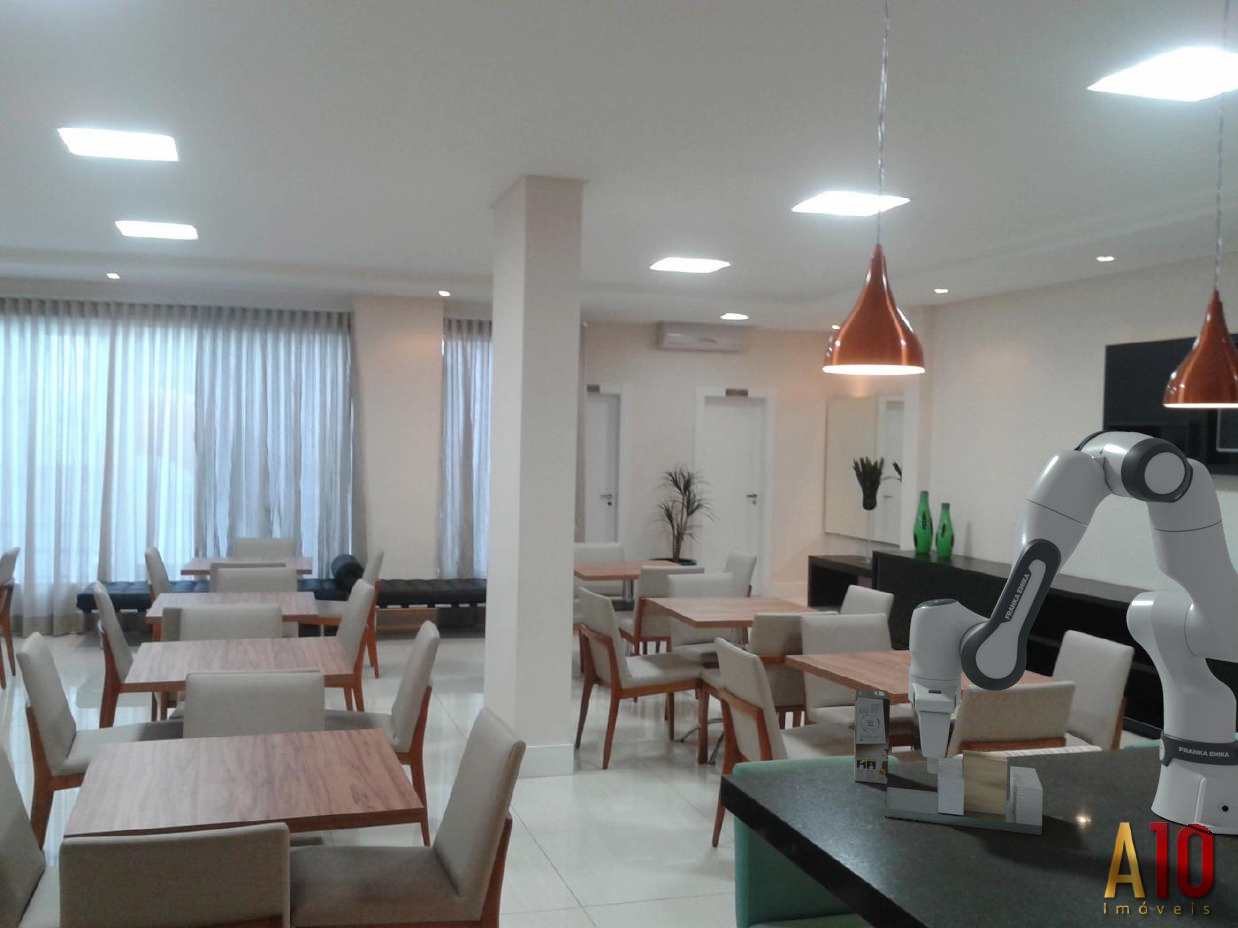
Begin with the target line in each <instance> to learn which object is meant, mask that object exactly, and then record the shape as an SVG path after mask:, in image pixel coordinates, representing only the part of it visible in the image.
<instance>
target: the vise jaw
mask: <svg viewBox="0 0 1238 928" xmlns="http://www.w3.org/2000/svg"><path fill="white" fill-rule="evenodd" d="M962 761H963V759H959V758H949V757H944V758H943V759H939V763H938V773H937V785H936V786H937V788H936V790H937V791H936V792H937V794H938V812H940V813H949V814H958V815H963V809H964V773H963V766H962Z"/></svg>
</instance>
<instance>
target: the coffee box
mask: <svg viewBox="0 0 1238 928" xmlns="http://www.w3.org/2000/svg"><path fill="white" fill-rule="evenodd" d="M890 712H891V696H890V694H889V691H888V690H885V689H872V688H871V689H866V688H865V689H862V688H860V689H859V688H855V693H854V730H853V731H854V732H853V733H854V734H853V779H854V781H855V782H861V783H862V782H863V783H864V782H865V783H875V784H883V785H886V784H888V777H889V776H888V772H889V770H888V769H889V754H890V753H889V750H890V749H889V748H890V747H889V746H890V745H889V744H890V717H891V716H890V714H891V713H890Z"/></svg>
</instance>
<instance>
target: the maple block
mask: <svg viewBox="0 0 1238 928" xmlns="http://www.w3.org/2000/svg"><path fill="white" fill-rule="evenodd" d="M962 766H963V773H964V809H963V810H969V811H978V812H987V813H996V814H1005V815H1006V800H1007V793H1008V791H1007V785H1008V784H1007V783H1008V758H1007V755H1006V753H999V752H988V751H979V750H969V749H967V750H966V749H962Z"/></svg>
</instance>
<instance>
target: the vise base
mask: <svg viewBox="0 0 1238 928" xmlns="http://www.w3.org/2000/svg"><path fill="white" fill-rule="evenodd" d="M1009 775H1010V778H1009V799H1006V815H1005V814H996V813H987V812H978V811H969V810H963V815H958V814H949V813H940V812H938V794H937V791H929V790H928V791H927V790H919V789H909V788H901V787H893V786H892V787H890V786H887V787H886V794H885V795H886V796H885V803H884V817H885V816H887V817H886V818H890V817H892V818H891V819H898V818H904V819H903V820H907V819H912V820H911V821H916V820H919V821H918V822H924V821H925V822H927V823H935V824H943V825H952V826H961V827H969V828H970V827H971V828H978V829H985V830H986V829H987V830H994V831H995V830H997V831H1004V832H1014V833H1020V834H1021V833H1022V834H1030V835H1039V836H1041V835H1042V832H1043V795H1044V788H1043V787H1042V786H1043V785H1042V784H1041V781H1040V778H1039V776H1038V773H1037V771H1036V768H1033V767H1024V766H1012V765H1010V774H1009ZM1042 836H1043V835H1042Z"/></svg>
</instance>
